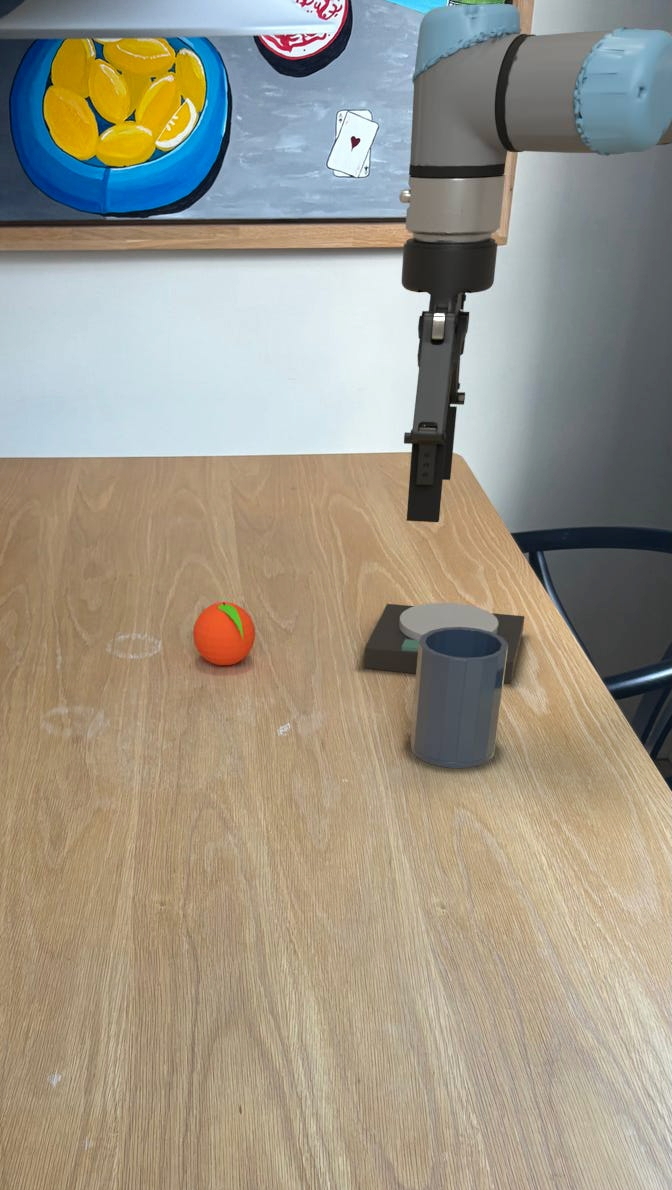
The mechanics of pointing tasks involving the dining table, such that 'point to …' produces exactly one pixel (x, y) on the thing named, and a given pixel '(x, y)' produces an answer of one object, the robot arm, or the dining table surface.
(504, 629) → the scale
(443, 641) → the cup
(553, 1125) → the dining table surface
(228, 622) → the clementine
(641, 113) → the robot arm
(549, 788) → the dining table surface
